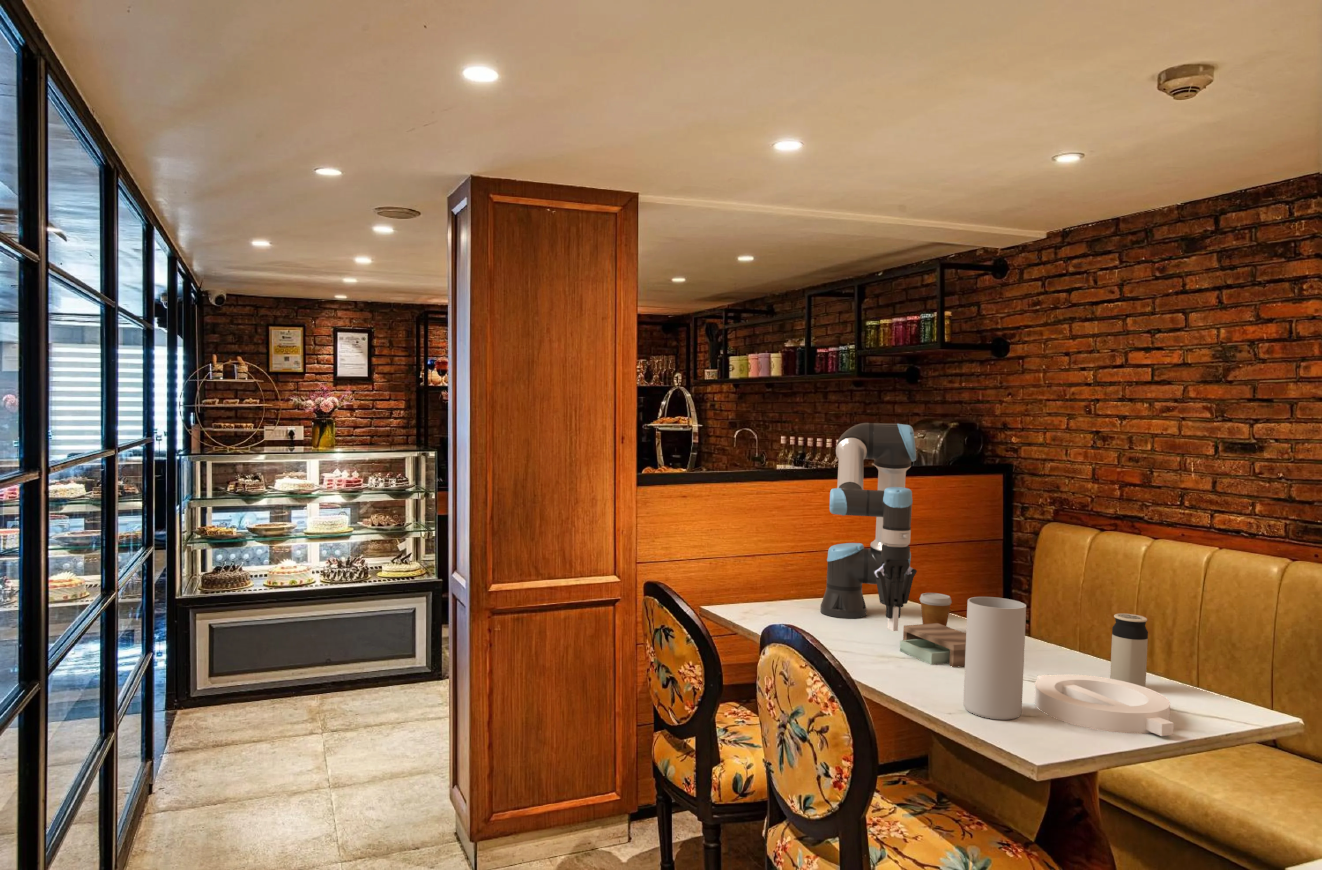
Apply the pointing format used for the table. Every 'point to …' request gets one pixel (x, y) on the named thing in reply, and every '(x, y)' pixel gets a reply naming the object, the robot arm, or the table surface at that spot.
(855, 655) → the table surface
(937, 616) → the disposable coffee cup
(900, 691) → the table surface
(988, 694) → the cylinder vase
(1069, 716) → the ring with crossbar
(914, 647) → the green tray
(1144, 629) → the travel mug
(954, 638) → the walnut overhang
